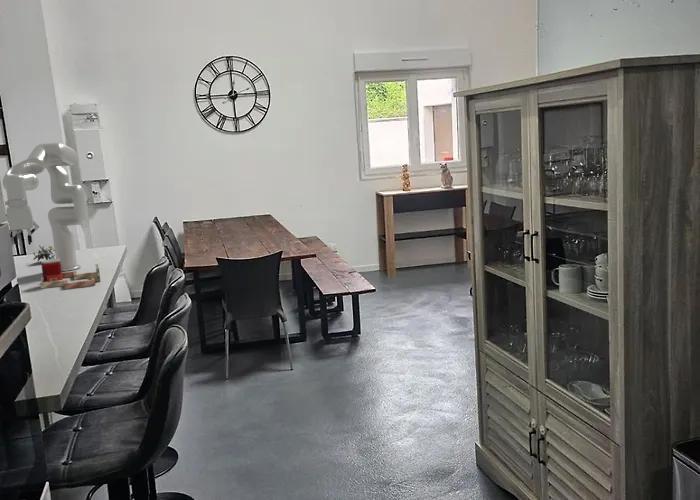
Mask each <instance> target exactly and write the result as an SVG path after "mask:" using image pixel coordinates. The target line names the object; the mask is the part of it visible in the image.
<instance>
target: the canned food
mask: <svg viewBox="0 0 700 500" xmlns="http://www.w3.org/2000/svg"><path fill="white" fill-rule="evenodd" d="M40 264H41V270H42V278H43V280H44V282H50V281H59V280H64V278H63V277H62V273H63V271H62V269H61V261H60V259H56V258H55V259H49V258H48V260H46V259H43V260H41V263H40Z"/></svg>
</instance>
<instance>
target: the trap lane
mask: <svg viewBox="0 0 700 500" xmlns="http://www.w3.org/2000/svg"><path fill="white" fill-rule="evenodd" d="M100 273H101V272H100V267H99V263H95V271H90V272H83V273H77V271H76V270H71V271H62V277H63V280H59V281H50V282H44V280H43V277H41V282H39V283H40V289H48V288H55V287H63V286H64V290H68V289H69V290H70V289H76V288H85V287H86V288H87V287H93V286H94V287H95V286H96V282H101V274H100ZM67 278H73V279H74V281H72V282H70V281H68V279H67ZM83 279H88V280H83ZM76 280H80V281H76ZM81 280H82V281H81Z"/></svg>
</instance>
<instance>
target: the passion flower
mask: <svg viewBox="0 0 700 500" xmlns="http://www.w3.org/2000/svg"><path fill="white" fill-rule="evenodd" d="M38 247H39V249H38V251H37V255H36V253H35V252H32V253H33V255H34V257H33V261H35V260H36V259H37V262H39V261H40V260H49V259H56V257H55V249H54V248H53V247H54V246H50V245H49V246H48V247H47V246H41V245H38Z"/></svg>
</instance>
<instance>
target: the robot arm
mask: <svg viewBox="0 0 700 500" xmlns="http://www.w3.org/2000/svg"><path fill="white" fill-rule="evenodd" d="M77 163H78V153H77V152H76V150H75V149H74V148H72V147H70V146H68V145H66V144H63V143H59V142H51V143H49V142H48V143H47V142H46V143H40V144H38V145H35V147H34V148H33V150H32V151H31V152H30V154H29V155H28V157H27V158H26V159H25V160H22V161H20V162H18V163H16V164H14V165H12V166H11V167H9V168H8V169H7V171H6V172H5V174H4V176H3V178H2V185H3V188H4V189H5V190H6V198H7V199H6V201H4V202H5V205H4V206H6V209H5V210H6V211H5V212H6V222H7V221H8V223H9V226H10V231H11V235H12V238H13V244H14V245H15V247H18V246H19V240H18V236H17V231H20V230H21V231H23V230H26V232H27V242H28V245H31V244H32V243H33V239H32V238H33V237H32V235H33V234H34V233H35V231H37V230H38V229H39V228H40V226H39V225H38V224H37V223H36V221H34V218H33V213H32V210H31V207H30V206H31V205H28V198H27V197H28V196H27V191H33V190H35V189H37V188H38V186H39V178H38V177H37V175H39V174H41V173H43V172H44V171H45V169H46V171H47V172H48V174H49V180H50V197H51V201H52V203H54V204H56V205H67V204H68V205H71V204H73V206H56V207H52V208H51V209H49V211H48V213H47V219H48V221H49V225H50V229H51V232H52V239H53V247H54V248H53V249H55V251H54V254H55V257H54V258H55V259H60V261H61V269H62V272H70V271H76V270H78V269H80V268H81V264H79V263H78V260H77V253H76V245H75V236H74V233H73V231H72V229H71V228H70V226H80V225H84V224H85V222H86V219H87V206H86V205H87V204H86V203H87V202H86V192H85V189H84V188H83V186H81V185H80V184H70V179H69V178H70V177H69V174H68V172H67V171H66V170H65V168H64V167H71V166H73V167H74V166H75V165H76V164H77ZM11 235H10V236H11Z"/></svg>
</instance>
